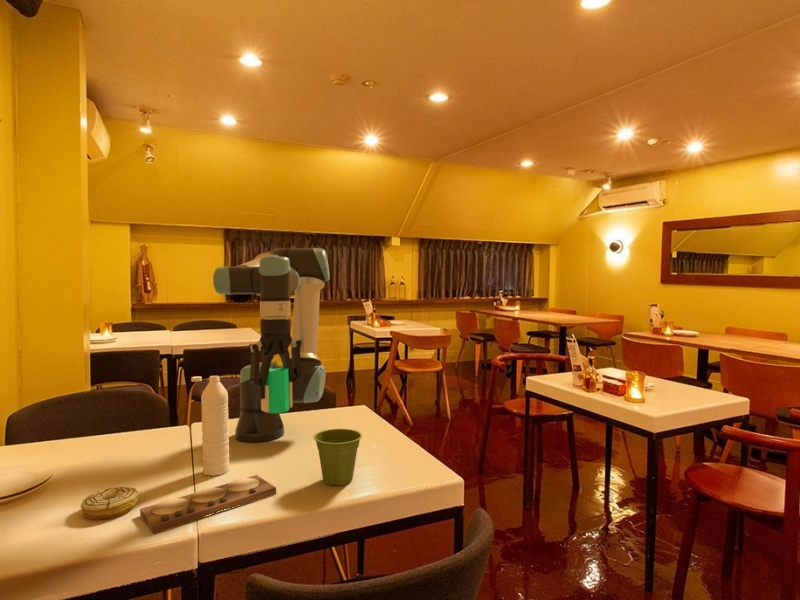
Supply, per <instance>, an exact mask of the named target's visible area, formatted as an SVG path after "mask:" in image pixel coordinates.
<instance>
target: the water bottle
mask: <svg viewBox="0 0 800 600" xmlns="http://www.w3.org/2000/svg"><path fill="white" fill-rule="evenodd" d="M202 378H203V377H202V376H199V375H197V376H196V375H195V376H192V377H191V378H190V381H191V382H201V381H203V379H202ZM220 380H221V378H220V376H219V375H210V376H209V379H208V381H209V382H208V383H207V384H206V387H205V388H204V389H203V391H202V393H201V397H200V399H201V402H200V403H201V433H202V434H201V439H202V442H201V443H202V445H201V446H202V453H201V454H202V473H204V474H205V476H207V475H208V476H209V475H211V476H210V477H214V476H221V475H223V474H226V473H228V472H229V471H230V445H229V443H230V439H229V437H230V432H229V428H230V427H229V406H228V405H229V394H228V390H227V389H226V387H224V385H223V384H222V382H220Z"/></svg>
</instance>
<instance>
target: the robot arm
mask: <svg viewBox="0 0 800 600" xmlns="http://www.w3.org/2000/svg"><path fill="white" fill-rule="evenodd" d="M212 277H213V278H212V282H213V287H214V290H215V292H216V293H217V294H219V295H228V296H230V295H259V316H260V317H261V318H262V319H260V321H259V322H260V323H259V324H260V325H259V327H260V338H259V341H257V342H254V343H249V345H248V348H249V352H250V364H249V365H246V366H244V367H243V368H242V369H241V370H240V372H239V373H240V374H239V395H240V397H239V398H240V413H239V417H238V420H237V424H236V428H235V429H234V430H235V431H234V438H235V439H236V441H239V442H243V443H261V442H262V443H263V442H269V441H273V440H276V439H279V438H281V437H282V436H284V434H285V426H284V423H283V419H282V417H281V415H280V414H281V413H267V412H269V386H268V385H265V384H266V381H267V377H268V373H269V369H270V368H271V369H276V363H277V368H280V367H285V368H288V370H289V409H290V408H293V404H294V403H295V404H298V403H299V404H300V403H301V404H302V403H304V404H308V403H316V402H319V401H320V399H322V396H323V394H324V391H325V390H324V389H325V385H326V378H327V376H326V372H327V371H326V366H324V365H323V364H322V360H321V359H320V358H319V356H318V345H319V344H318V343H319V342H318V340H319V318H320V302H321V301H320V299H321V297H320V296H321V290H322V289H323V288H325V285H326V283H325V282H328V281H329V280H330V279H331V277H330V266H329V262H328V255H327V252H326V250H325V249H324V248H318V247H307V248H306V247H301V248H300V247H298V248H297V247H296V248H293V247H290V248H289V247H288V248H287V247H285V248H284V247H282V248H276V249H272V250H268V251H265V252H262V253H260V254H258V255H256V257H254V259H253V260H250V261H247V262H244V263H242V264H238V265H236V266H227V265H226V266H218V267H216V268H215V270H214V272H213V276H212ZM293 292H294V298H293V299H294V300H293V315H292V314H291V313H292V311H291V308H292V307H291V294H292V293H293ZM290 316H293V317H292V319H291V318H289V317H290ZM289 347H290V351H289ZM261 348H262V350H263V354H262V361H261V353H260V352H261ZM277 355H278V356H279V357H280V360H281V363H282V366H281V365H279V363H278V362H277V361H275V360H274V356H277ZM272 360H274V361H272Z"/></svg>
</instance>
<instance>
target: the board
mask: <svg viewBox="0 0 800 600" xmlns="http://www.w3.org/2000/svg"><path fill="white" fill-rule="evenodd" d="M274 494H275V495H277V486H274V485H273V484H271V483H269V482H268V481H266V480H265V479H263V478H262V477H261V476H259V475H251V476H249V477H244V478H239V479H235V480H232V481H231V482H228V483H225V484H222V485H221V484H220V485H218V486H214V487H208V488H203V489H200V490H198V491H196V492H193V493H189V494H186V495H183V496H180V497H175V498H171V499H166V500H162V501H159V502H158V503H155V504H152V505H148V506H145V507H142V508H139V512H140V514H139V515H140V517H141V519H142V520H143V522H144V523H145V525H146V526H148V528H149V530H150V531H151V532H152V534H153V535H154V534H158V533H162V532H164V531H167V530H170V529H173V527H174V528H176V527H180V526H182V524H183V525H186V524H189V523H191V521H192V522H195V521H197V520H198V521H199V520H201V519H204V518H205V517H204V516H206V515H209V514H212V513H216V512H218V511H221V510H224V509H228V508H232V507H235V506H238V505H241V506H243V505H242V504H244V505H246V504H245V503H247V504H250V503H253V502H256V501H259V500H262V499H264V498H265V499H266V498H268V497H267V496H269V497H272V496H274ZM271 495H272V496H271ZM261 498H262V499H261ZM258 499H259V500H258ZM255 500H256V501H255ZM252 501H253V502H252ZM249 502H250V503H249ZM238 507H239V506H238ZM235 508H236V507H235ZM232 509H233V508H232ZM203 517H204V518H203ZM185 523H186V524H185Z"/></svg>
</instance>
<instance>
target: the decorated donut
mask: <svg viewBox="0 0 800 600" xmlns="http://www.w3.org/2000/svg"><path fill="white" fill-rule="evenodd" d="M139 497H140V494H139V491H138V490H137V488H135V487H129V486H116V487H109V488H106V489H103V490H99V491H96V492H94V493H91V494H90V495H88V496H86V497H85V498H84V499H83V500H82V502H81V503H80V506H79V507H80V510H81V512H82V514H83V515H84V516H85V517H86V518H89V519H91V520H94V521H95V520H97V521H99V520H107V519H113V518H116V517H117V518H118V517H120V516H121V515H125V514H127V513H128V511H129V512H131V510H132V509H134V507H135V506H136V505H137V504H138V503H137V502H138V500H139V499H140V498H139Z"/></svg>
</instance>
